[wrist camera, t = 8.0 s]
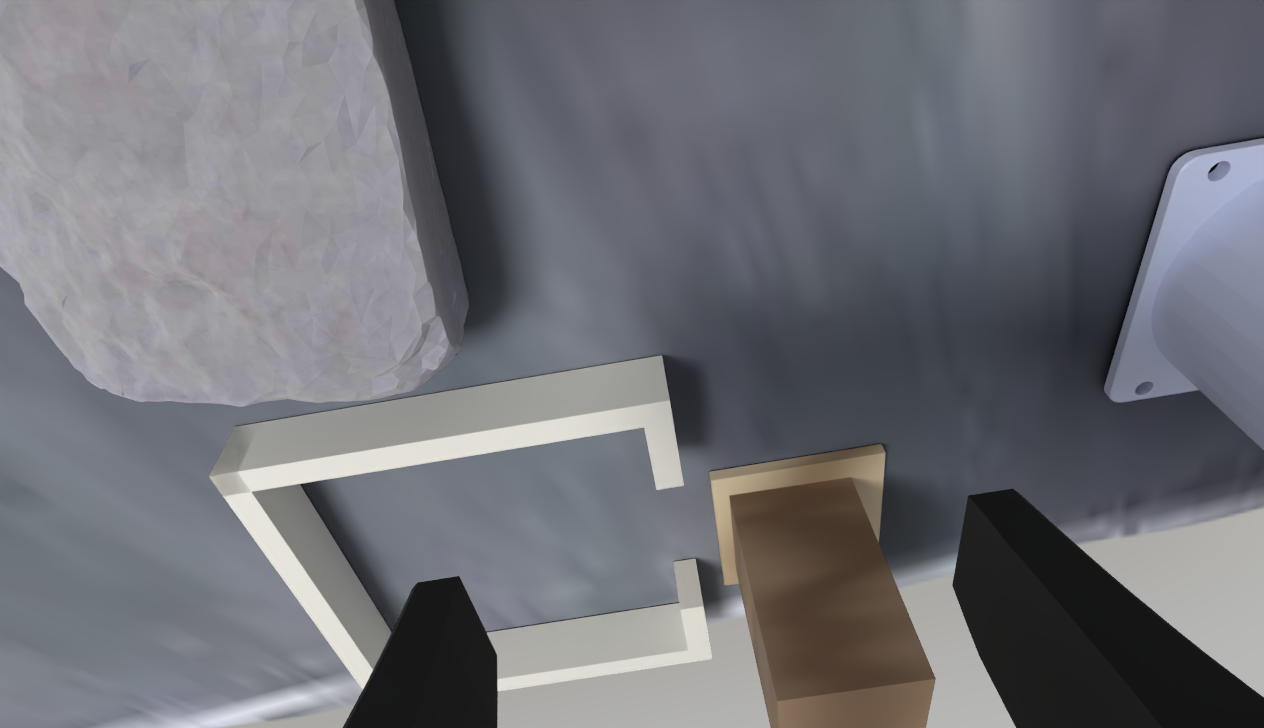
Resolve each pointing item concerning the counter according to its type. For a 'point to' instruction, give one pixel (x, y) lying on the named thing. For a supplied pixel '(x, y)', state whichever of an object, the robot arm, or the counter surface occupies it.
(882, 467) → the cork trivet
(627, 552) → the counter surface
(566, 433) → the white open square frame
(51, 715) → the counter surface
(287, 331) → the stone block
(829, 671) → the walnut block
